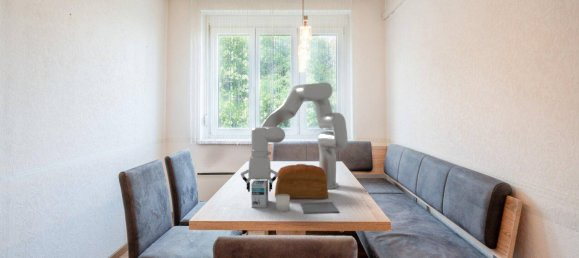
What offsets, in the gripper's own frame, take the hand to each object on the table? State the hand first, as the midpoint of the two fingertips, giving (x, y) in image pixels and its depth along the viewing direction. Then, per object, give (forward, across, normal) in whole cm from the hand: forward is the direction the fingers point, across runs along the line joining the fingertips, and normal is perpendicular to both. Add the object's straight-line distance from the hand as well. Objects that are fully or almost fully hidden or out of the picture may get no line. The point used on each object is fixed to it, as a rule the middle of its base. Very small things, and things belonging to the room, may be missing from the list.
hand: (259, 191), depth 126 cm
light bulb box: (+6, 0, 0) cm, 6 cm away
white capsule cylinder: (+6, -10, +8) cm, 14 cm away
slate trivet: (+6, -26, +8) cm, 28 cm away
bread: (+6, -21, -12) cm, 25 cm away
